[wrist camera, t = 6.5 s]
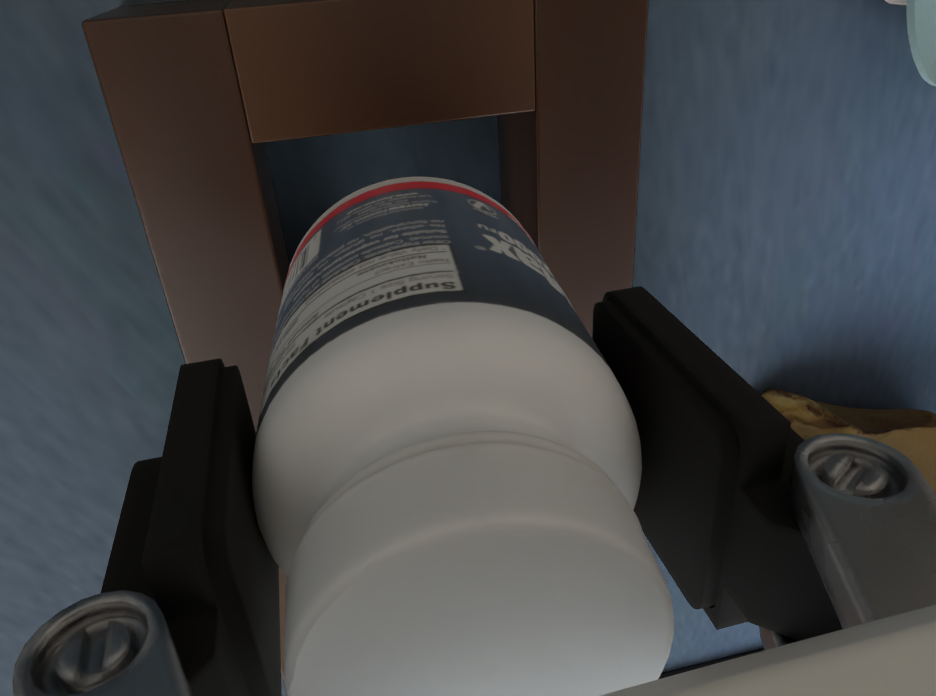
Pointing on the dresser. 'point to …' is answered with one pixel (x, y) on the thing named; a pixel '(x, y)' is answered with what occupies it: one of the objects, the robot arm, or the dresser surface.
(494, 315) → the pill bottle
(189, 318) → the stand
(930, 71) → the pacifier
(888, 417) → the decorative stone
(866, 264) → the dresser surface
